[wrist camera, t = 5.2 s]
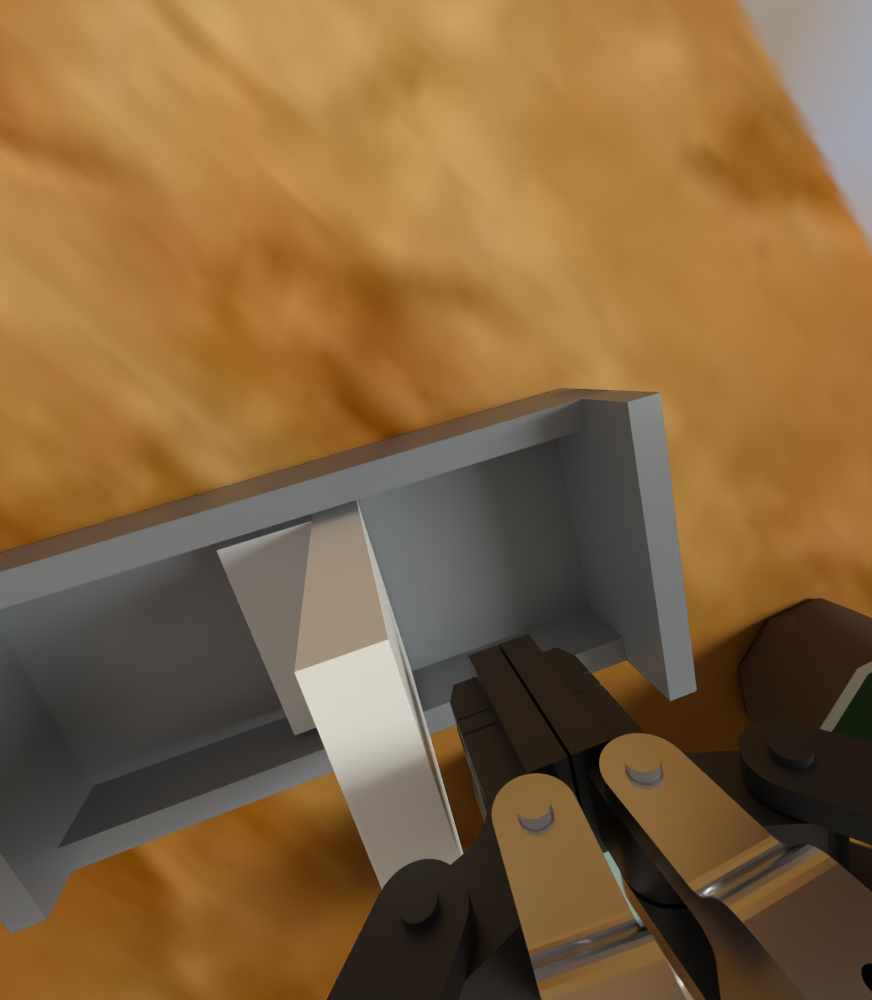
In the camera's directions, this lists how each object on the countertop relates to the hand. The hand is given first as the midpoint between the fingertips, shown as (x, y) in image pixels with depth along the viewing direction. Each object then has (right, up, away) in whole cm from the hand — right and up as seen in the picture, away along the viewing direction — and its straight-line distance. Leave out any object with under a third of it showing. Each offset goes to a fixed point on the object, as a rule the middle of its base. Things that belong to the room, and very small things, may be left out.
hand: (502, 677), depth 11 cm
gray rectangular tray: (-6, +1, +8) cm, 10 cm away
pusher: (-6, 0, +7) cm, 9 cm away
